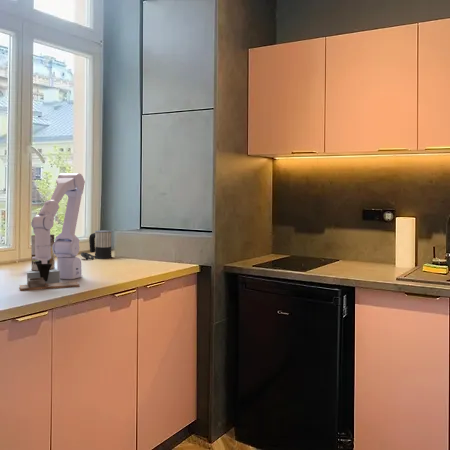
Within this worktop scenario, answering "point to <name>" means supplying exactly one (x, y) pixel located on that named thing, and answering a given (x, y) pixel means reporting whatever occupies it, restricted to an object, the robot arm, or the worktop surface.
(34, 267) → the coffee box
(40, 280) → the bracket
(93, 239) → the milk frother
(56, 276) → the rail
